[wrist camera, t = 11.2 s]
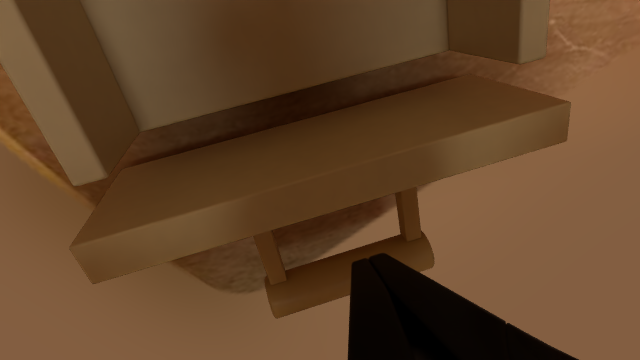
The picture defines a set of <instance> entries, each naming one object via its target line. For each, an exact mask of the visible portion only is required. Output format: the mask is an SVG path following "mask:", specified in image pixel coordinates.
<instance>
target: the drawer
mask: <svg viewBox="0 0 640 360" xmlns="http://www.w3.org/2000/svg"><path fill="white" fill-rule="evenodd" d="M549 3H550V0H0V63H1V65H2V66H3V68H4V70H5V71H6V73H7V75H8V76H9V78H10V80H11V81H12V83H13V85H14V87H15V88H16V90H17V92H18V93H19V95H20V97H21V98H22V100H23V102H24V103H25V105H26V107H27V109H28V110H29V112H30V114H31V115H32V117H33V119H34V120H35V122H36V124H37V125H38V127H39V129H40V131H41V132H42V134H43V136H44V137H45V139H46V141H47V142H48V144H49V146H50V147H51V149H52V151H53V153H54V154H55V156H56V158H57V159H58V161H59V163H60V164H61V166H62V168H63V169H64V171H65V173H66V175H67V176H68V178H69V180H70V181H71V183H72V185H74V186H80V185H83V184H87V183H91V182H94V181H98V180H101V179H105V178H107V177H108V176H109V174H110V173H111V172H112V170H113V169H114V168H115V166H116V165H117V163H118V162H119V161H120V159H121V158H122V156H123V155H124V154H125V152H126V151H127V149H128V148H129V147H130V145H131V144H132V143H133V141H134V140H135V138H136V137H137V136H138V134H139V133H140V132H143V131H147V130H151V129H155V128H158V127H162V126H166V125H170V124H174V123H177V122H181V121H185V120H189V119H192V118H196V117H200V116H204V115H207V114H211V113H215V112H219V111H223V110H226V109H230V108H234V107H238V106H241V105H245V104H249V103H253V102H257V101H260V100H264V99H268V98H272V97H275V96H279V95H283V94H287V93H291V92H294V91H298V90H302V89H306V88H309V87H313V86H317V85H321V84H325V83H328V82H332V81H336V80H340V79H343V78H347V77H351V76H355V75H358V74H362V73H366V72H370V71H374V70H377V69H381V68H385V67H389V66H392V65H396V64H400V63H404V62H408V61H411V60H415V59H419V58H423V57H426V56H430V55H434V54H438V53H442V52H445V51H449V50H450V51H455V52H460V53H465V54H470V55H475V56H480V57H485V58H490V59H495V60H500V61H505V62H510V63H515V64H524V63H527V62H531V61H535V60H538V59H542V58H544V57H545V56H546V46H547V32H548V18H549ZM570 108H571V102H569V101H565V100H562V99H558V98H555V97H551V96H548V95H544V94H540V93H537V92H533V91H530V90H526V89H522V88H519V87H515V86H512V85H508V84H505V83H501V82H497V81H494V80H490V79H487V78H483V77H479V76H476V75H472V74H469V75H465V76H461V77H458V78H454V79H450V80H447V81H443V82H439V83H436V84H432V85H428V86H425V87H421V88H417V89H414V90H410V91H406V92H403V93H399V94H395V95H392V96H388V97H384V98H381V99H377V100H373V101H370V102H366V103H363V104H359V105H355V106H352V107H348V108H344V109H341V110H337V111H333V112H330V113H326V114H322V115H319V116H315V117H311V118H308V119H304V120H300V121H297V122H293V123H289V124H286V125H282V126H278V127H275V128H271V129H267V130H264V131H260V132H257V133H253V134H249V135H246V136H242V137H238V138H235V139H231V140H227V141H224V142H220V143H216V144H213V145H209V146H205V147H202V148H198V149H194V150H191V151H187V152H183V153H180V154H176V155H172V156H169V157H165V158H161V159H158V160H154V161H150V162H147V163H143V164H140V165H136V166H132V167H129V168H125V169H122V170H121V171H120V172H119V174H118V175H117V177H116V178H115V180H114V181H113V183H112V184H111V186H110V187H109V189H108V190H107V192H106V193H105V195H104V196H103V198H102V199H101V201H100V202H99V204H98V205H97V207H96V208H95V210H94V211H93V213H92V214H91V216H90V217H89V219H88V220H87V222H86V223H85V225H84V226H83V228H82V229H81V231H80V232H79V234H78V235H77V237H76V238H75V240H74V241H73V243H72V244H71V246H70V251H71V252H72V254H73V255H74V257H75V258H76V260H77V261H78V263H79V264H80V266H81V268H82V269H83V271H84V272H85V274H86V275H87V277H88V278H89V280H90V281H91V283H92V284H96V283H99V282H102V281H106V280H109V279H112V278H116V277H119V276H122V275H126V274H129V273H132V272H136V271H139V270H142V269H145V268H149V267H152V266H155V265H158V264H162V263H165V262H169V261H172V260H175V259H179V258H182V257H185V256H188V255H192V254H195V253H198V252H202V251H205V250H208V249H212V248H215V247H218V246H222V245H225V244H228V243H231V242H235V241H238V240H241V239H245V238H248V237H251V236H253V237H254V240H255V243H256V246H257V249H258V251H259V254H260V257H261V260H262V262H263V265H264V268H265V271H266V274H267V277H265V287H266V292H267V296H268V300H269V304H270V307H271V310H272V313H273V315H274V317H275V318H280V317H284V316H287V315H290V314H293V313H296V312H299V311H302V310H305V309H308V308H311V307H314V306H317V305H320V304H323V303H326V302H329V301H332V300H335V299H338V298H342V297H344V296H348V295H350V289H351V265H352V263H353V262H354V261H357V260H360V259H363V258H367V259H369V257H370V256H373V255H376V254H379V253H386V254H388V255H390V256H391V257H393V258H395V259H397V260H398V261H400V262H402V263H404V264H405V265H407V266H409V267H411V268H413V269H414V270H416V271H418V272H421V271H424V270H427V269H430V268H432V267H433V266H434V255H433V251H432V248H431V245H430V243H429V241H428V239H427V237H426V236H425V234H424V233H423V232H422V231H421V228H420V218H419V208H418V199H417V188H416V187H417V186H420V185H423V184H427V183H430V182H433V181H437V180H440V179H443V178H446V177H450V176H453V175H456V174H460V173H463V172H466V171H470V170H473V169H476V168H480V167H483V166H486V165H490V164H492V163H496V162H499V161H503V160H506V159H509V158H513V157H516V156H519V155H523V154H526V153H529V152H532V151H536V150H539V149H542V148H546V147H549V146H552V145H555V144H559V143H562V142H565V141H566V140H567V135H568V126H569V117H570ZM394 193H395V195H396V203H397V210H398V218H399V226H400V233H401V234H400V235H397V236H394V237H390V238H388V239H384V240H381V241H378V242H375V243H372V244H368V245H365V246H362V247H359V248H356V249H352V250H349V251H346V252H343V253H340V254H336V255H333V256H330V257H327V258H324V259H321V260H317V261H314V262H311V263H308V264H305V265H302V266H298V267H295V268H292V269H289V270H286V271H285V268H284V264H283V261H282V258H281V255H280V252H279V249H278V246H277V243H276V240H275V237H274V234H273V231H272V230H274V229H278V228H281V227H284V226H288V225H291V224H294V223H298V222H301V221H304V220H308V219H311V218H314V217H317V216H321V215H324V214H327V213H331V212H334V211H337V210H341V209H344V208H347V207H351V206H354V205H357V204H360V203H364V202H367V201H370V200H374V199H377V198H380V197H384V196H387V195H390V194H394Z"/></svg>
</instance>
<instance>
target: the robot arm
mask: <svg viewBox="0 0 640 360" xmlns="http://www.w3.org/2000/svg"><path fill="white" fill-rule="evenodd" d="M348 341H349V342H348V360H578V359H576V358H574V357H572V356H570V355H568V354H566V353H564V352H562V351H560V350H558V349H556V348H554V347H551V346H550V345H548V344H546V343H544V342H542V341H540V340H539V339H537V338H535V337H533V336H531V335H529V334H528V333H526V332H524V331H522V330H520V329H519V328H517V327H515V326H513V325H511V324H510V323H507V324H506V322H505V321H504V320H502V319H500V318H499V317H497V316H495V315H494V314H492V313H490V312H488V311H487V310H485V309H483V308H481V307H479V306H478V305H476V304H474V303H472V302H471V301H469V300H467V299H465V298H463V297H462V296H460V295H458V294H456V293H455V292H453V291H451V290H449V289H448V288H446V287H444V286H442V285H441V284H439V283H437V282H435V281H434V280H432V279H430V278H428V277H426V276H425V275H423V274H421V273H420V272H418V271H416V270H414V269H413V268H411V267H409V266H407V265H405V264H404V263H402V262H400V261H398V260H397V259H395V258H393V257H391V256H390V255H388V254H386V253H379V254H376V255H373V256H370V257H369V259H367V258H363V259H360V260H357V261H354V262H353V263H352V265H351V289H350V317H349V340H348Z"/></svg>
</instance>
